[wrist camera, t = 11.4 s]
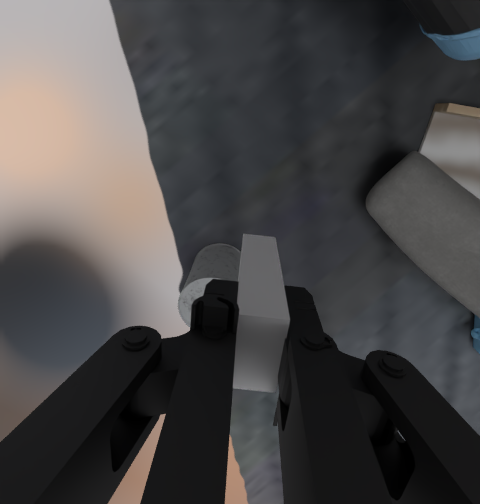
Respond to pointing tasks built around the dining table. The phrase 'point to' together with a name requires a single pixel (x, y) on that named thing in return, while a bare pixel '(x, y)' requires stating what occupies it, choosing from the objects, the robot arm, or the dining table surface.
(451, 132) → the tray
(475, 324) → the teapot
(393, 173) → the vase
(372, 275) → the dining table surface
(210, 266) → the grey cylinder
